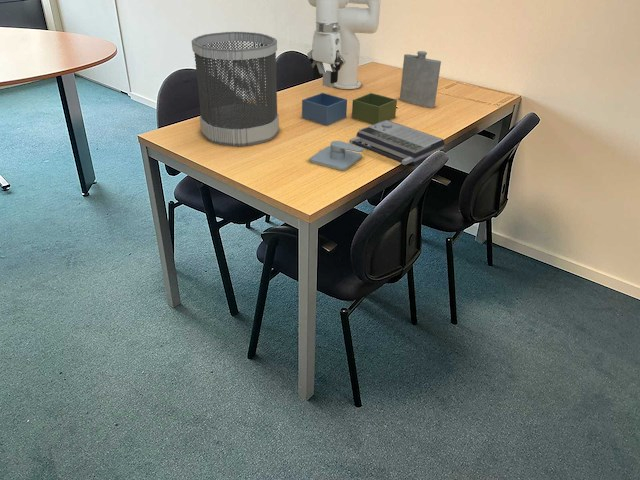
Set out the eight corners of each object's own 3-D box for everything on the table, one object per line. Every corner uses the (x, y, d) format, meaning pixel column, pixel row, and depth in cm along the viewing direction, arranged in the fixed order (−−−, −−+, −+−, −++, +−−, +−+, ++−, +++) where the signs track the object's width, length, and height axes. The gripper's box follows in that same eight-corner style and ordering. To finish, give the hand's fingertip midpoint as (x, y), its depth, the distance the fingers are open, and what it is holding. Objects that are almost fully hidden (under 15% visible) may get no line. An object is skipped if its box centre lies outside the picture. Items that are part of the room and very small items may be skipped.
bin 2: (351, 118, 195) (352, 100, 191) (369, 110, 202) (370, 92, 199) (377, 125, 189) (379, 107, 185) (395, 117, 196) (397, 99, 193)
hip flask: (436, 106, 208) (443, 54, 197) (430, 108, 205) (437, 56, 195) (402, 97, 217) (407, 47, 206) (396, 99, 214) (402, 48, 203)
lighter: (334, 86, 186) (335, 63, 182) (331, 87, 185) (332, 64, 181) (318, 82, 190) (319, 60, 186) (315, 83, 189) (316, 60, 185)
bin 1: (301, 118, 193) (302, 99, 190) (321, 110, 201) (322, 92, 197) (326, 125, 187) (327, 107, 184) (346, 117, 195) (347, 99, 191)
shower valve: (352, 156, 152) (308, 144, 158) (351, 173, 155) (308, 161, 161) (371, 142, 161) (329, 132, 167) (370, 158, 164) (328, 148, 170)
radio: (446, 136, 167) (407, 153, 155) (443, 152, 170) (405, 169, 158) (386, 116, 181) (347, 130, 169) (385, 131, 184) (346, 146, 172)
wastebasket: (220, 151, 166) (212, 53, 150) (192, 126, 184) (181, 36, 168) (290, 136, 177) (289, 44, 161) (257, 114, 195) (253, 29, 179)
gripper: (354, 29, 175) (351, 83, 185) (314, 22, 184) (313, 73, 194) (340, 32, 170) (338, 87, 180) (300, 25, 179) (299, 77, 189)
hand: (325, 80), depth 187 cm, fingers closed on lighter, 7 cm apart
